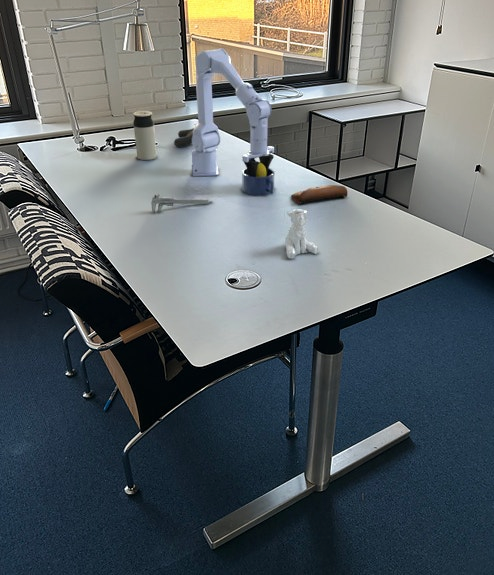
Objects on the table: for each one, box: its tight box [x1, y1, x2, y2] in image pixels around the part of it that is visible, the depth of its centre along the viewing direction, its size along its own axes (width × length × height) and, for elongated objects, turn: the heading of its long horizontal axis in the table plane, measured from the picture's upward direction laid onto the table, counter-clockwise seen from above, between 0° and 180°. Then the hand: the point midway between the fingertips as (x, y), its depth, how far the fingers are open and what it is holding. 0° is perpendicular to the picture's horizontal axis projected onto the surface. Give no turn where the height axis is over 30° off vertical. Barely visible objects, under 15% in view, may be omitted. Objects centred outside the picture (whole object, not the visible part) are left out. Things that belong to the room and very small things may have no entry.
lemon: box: [256, 161, 266, 177], centre depth 183 cm, size 6×6×8 cm
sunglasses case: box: [291, 184, 348, 205], centre depth 179 cm, size 18×7×7 cm
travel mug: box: [132, 110, 158, 161], centre depth 213 cm, size 8×8×18 cm
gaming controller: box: [173, 125, 197, 148], centre depth 234 cm, size 17×6×10 cm
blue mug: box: [241, 167, 275, 196], centre depth 184 cm, size 14×11×6 cm
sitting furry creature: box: [284, 208, 319, 260], centre depth 144 cm, size 10×9×12 cm
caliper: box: [151, 193, 213, 214], centre depth 171 cm, size 20×1×6 cm, turn 116°
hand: (258, 177), depth 184 cm, fingers closed on lemon, 5 cm apart
